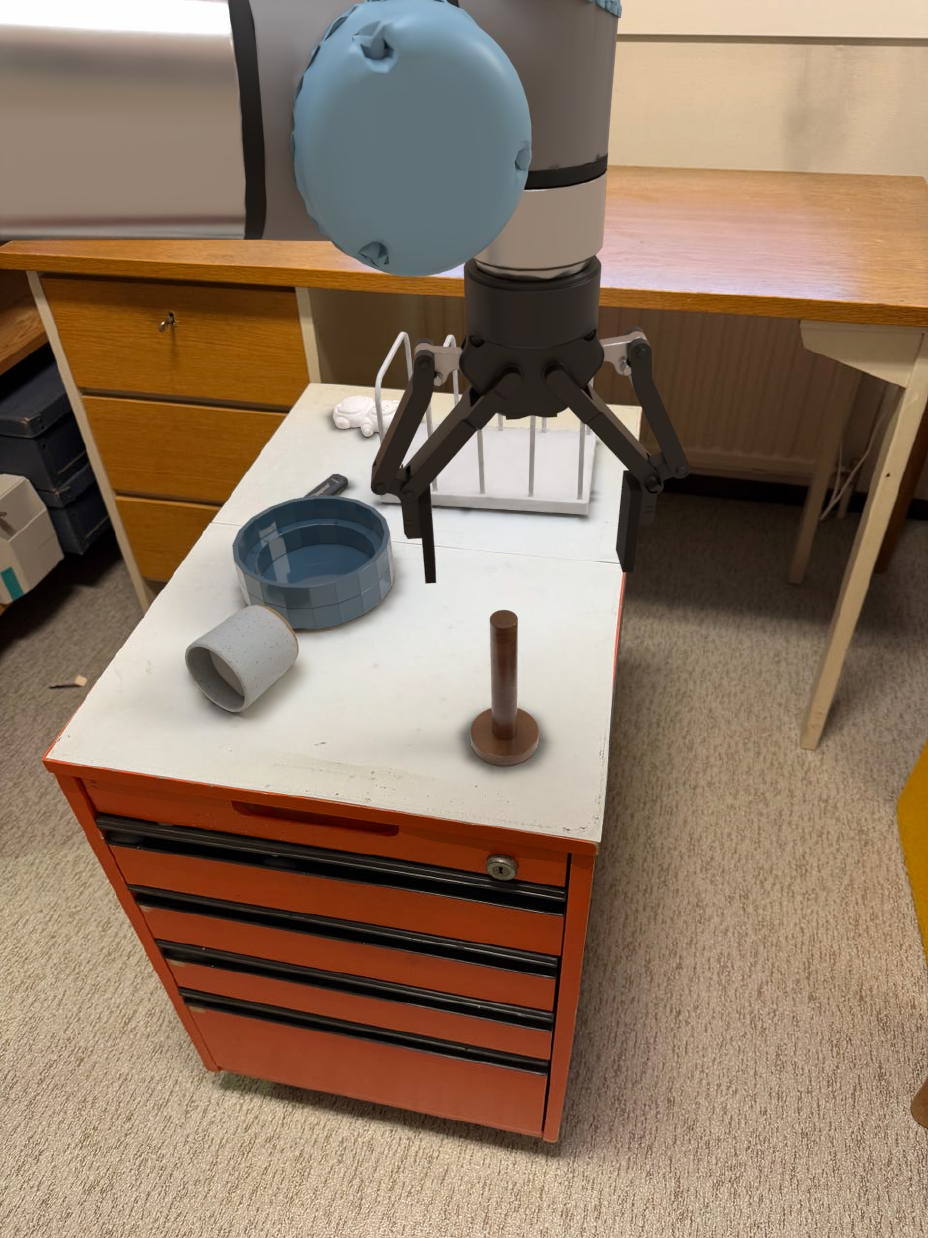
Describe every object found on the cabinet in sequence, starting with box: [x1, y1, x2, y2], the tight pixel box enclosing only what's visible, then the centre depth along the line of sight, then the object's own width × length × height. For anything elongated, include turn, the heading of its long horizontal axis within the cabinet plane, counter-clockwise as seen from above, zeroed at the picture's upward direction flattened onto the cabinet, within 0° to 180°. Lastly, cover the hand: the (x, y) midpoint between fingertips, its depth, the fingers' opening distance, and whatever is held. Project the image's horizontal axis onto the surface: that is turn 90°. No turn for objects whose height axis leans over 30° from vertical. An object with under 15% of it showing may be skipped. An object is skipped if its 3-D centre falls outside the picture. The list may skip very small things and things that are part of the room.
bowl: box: [231, 495, 395, 630], centre depth 94 cm, size 16×16×6 cm
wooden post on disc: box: [469, 609, 540, 767], centre depth 73 cm, size 6×6×14 cm
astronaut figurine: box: [332, 394, 401, 438], centre depth 122 cm, size 9×12×3 cm
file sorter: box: [374, 331, 597, 515], centre depth 106 cm, size 25×17×16 cm
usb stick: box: [303, 473, 349, 497], centre depth 107 cm, size 10×3×2 cm, turn 148°
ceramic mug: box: [184, 604, 300, 713], centre depth 82 cm, size 11×8×8 cm
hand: (527, 566), depth 62 cm, fingers open, 13 cm apart
